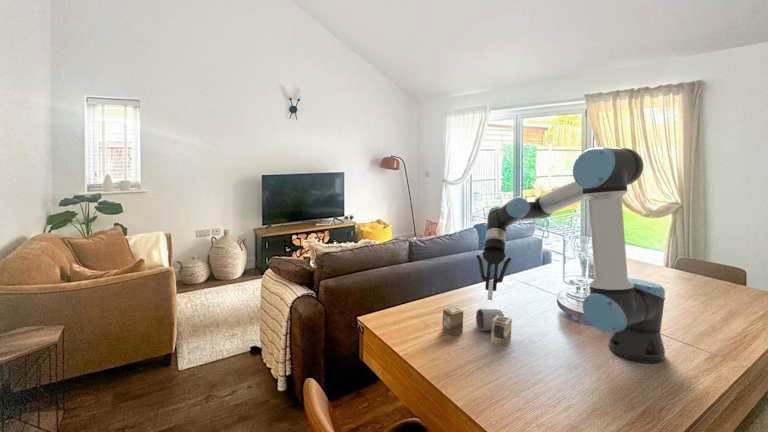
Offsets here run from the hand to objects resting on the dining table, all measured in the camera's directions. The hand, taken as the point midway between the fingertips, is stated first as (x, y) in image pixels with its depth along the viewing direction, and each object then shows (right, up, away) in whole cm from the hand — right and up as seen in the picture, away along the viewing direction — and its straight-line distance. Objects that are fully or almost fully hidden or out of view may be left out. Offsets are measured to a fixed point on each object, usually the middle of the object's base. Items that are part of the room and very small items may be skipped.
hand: (489, 298), depth 141 cm
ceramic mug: (0, -11, +3) cm, 12 cm away
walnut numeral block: (-13, -12, -1) cm, 18 cm away
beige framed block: (+2, -13, -8) cm, 15 cm away
